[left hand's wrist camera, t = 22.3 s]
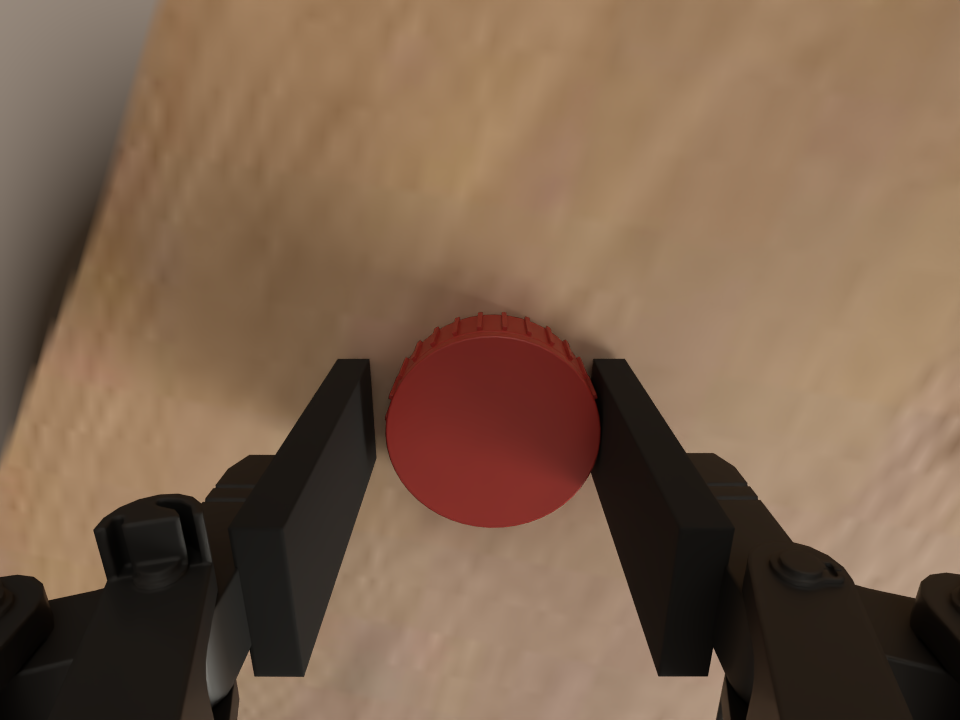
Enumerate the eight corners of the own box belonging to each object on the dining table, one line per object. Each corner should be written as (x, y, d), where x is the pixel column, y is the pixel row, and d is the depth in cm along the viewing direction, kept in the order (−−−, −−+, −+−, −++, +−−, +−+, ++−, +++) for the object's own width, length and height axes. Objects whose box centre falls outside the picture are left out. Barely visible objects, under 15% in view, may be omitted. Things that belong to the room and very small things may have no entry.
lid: (423, 507, 16) (416, 547, 14) (368, 336, 14) (352, 360, 13) (607, 471, 15) (620, 508, 14) (572, 289, 14) (583, 309, 12)
